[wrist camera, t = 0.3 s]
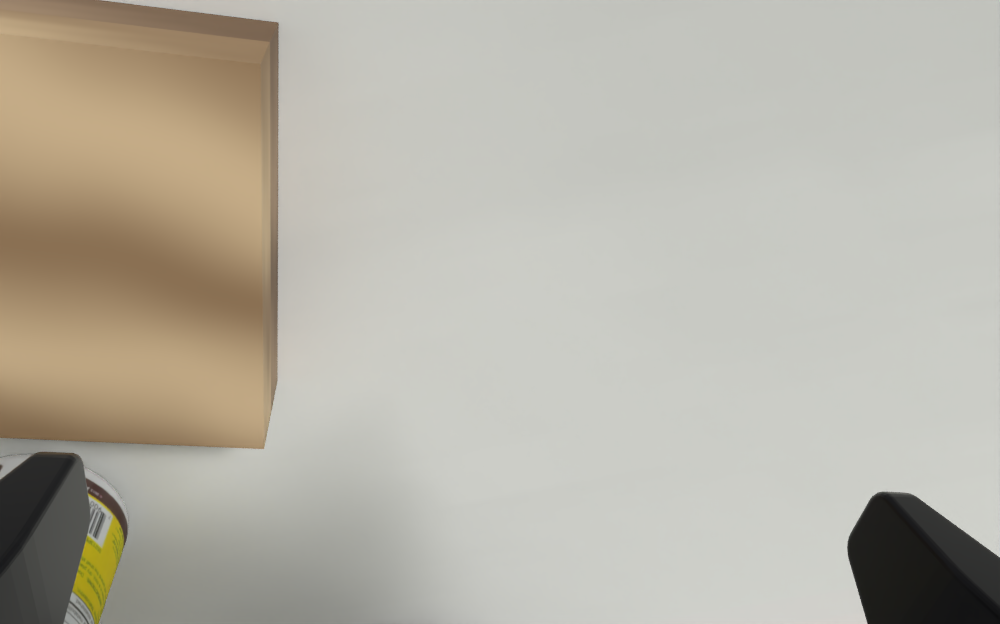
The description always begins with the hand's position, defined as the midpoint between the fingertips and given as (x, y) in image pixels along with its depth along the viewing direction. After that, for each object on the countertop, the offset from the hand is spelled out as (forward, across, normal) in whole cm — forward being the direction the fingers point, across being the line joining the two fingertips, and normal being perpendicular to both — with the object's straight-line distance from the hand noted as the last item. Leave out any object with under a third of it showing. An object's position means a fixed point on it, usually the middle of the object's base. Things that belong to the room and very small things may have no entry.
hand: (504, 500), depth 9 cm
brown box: (+14, +10, +4) cm, 18 cm away
